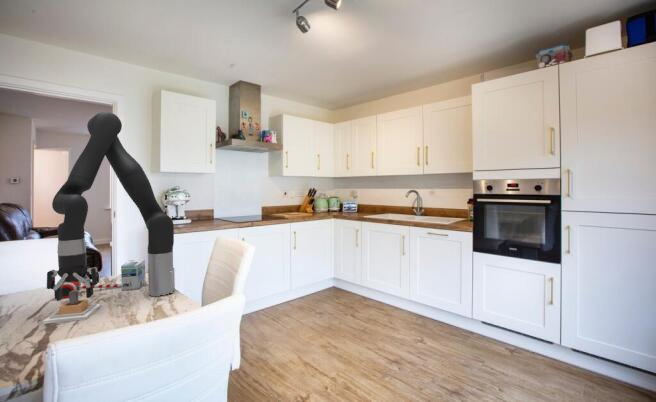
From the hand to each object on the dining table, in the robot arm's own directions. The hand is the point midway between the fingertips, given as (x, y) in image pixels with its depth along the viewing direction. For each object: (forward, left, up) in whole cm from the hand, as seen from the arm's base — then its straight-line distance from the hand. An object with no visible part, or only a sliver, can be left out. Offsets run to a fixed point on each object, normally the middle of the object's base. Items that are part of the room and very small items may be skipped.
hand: (74, 298), depth 108 cm
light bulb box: (-10, -29, -6) cm, 31 cm away
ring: (0, 0, -5) cm, 5 cm away
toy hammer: (+7, -27, -6) cm, 28 cm away
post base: (0, 0, -6) cm, 6 cm away
